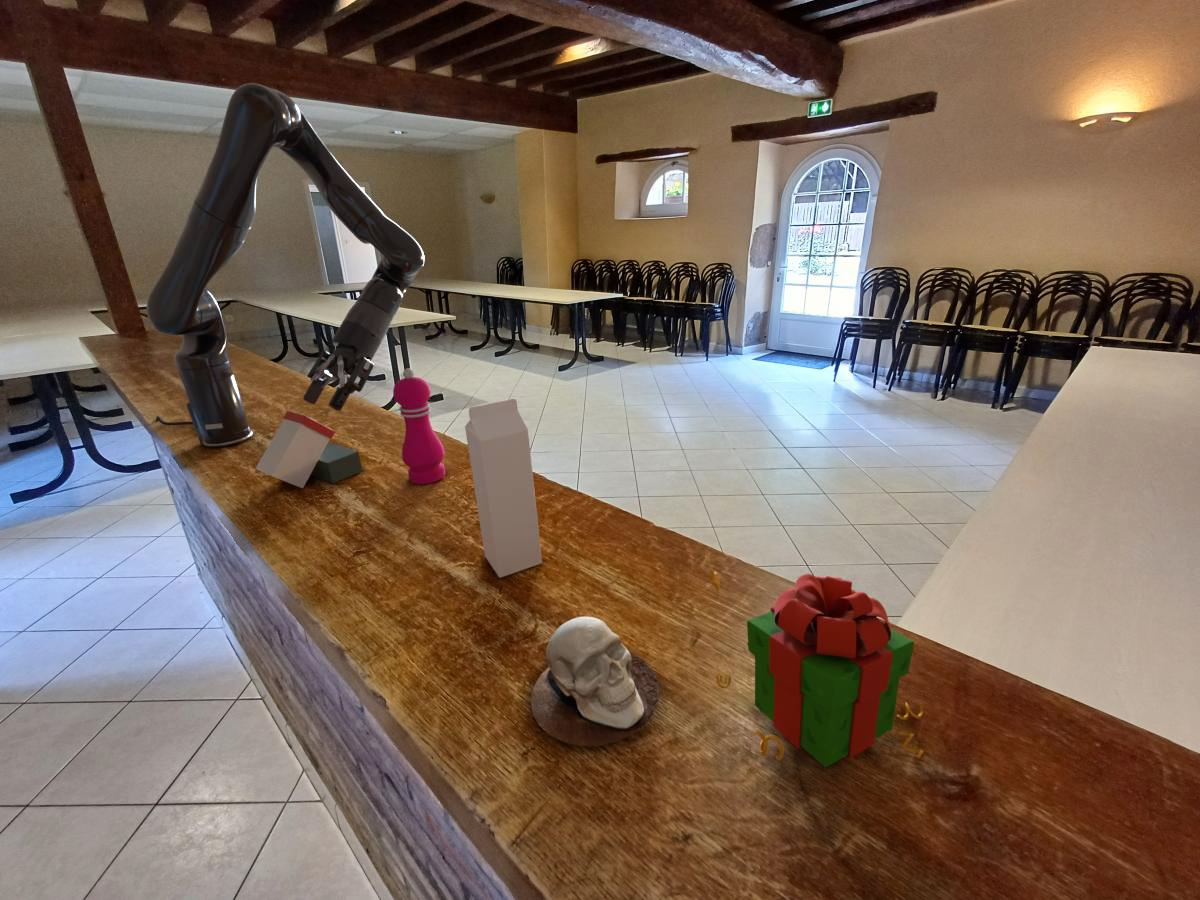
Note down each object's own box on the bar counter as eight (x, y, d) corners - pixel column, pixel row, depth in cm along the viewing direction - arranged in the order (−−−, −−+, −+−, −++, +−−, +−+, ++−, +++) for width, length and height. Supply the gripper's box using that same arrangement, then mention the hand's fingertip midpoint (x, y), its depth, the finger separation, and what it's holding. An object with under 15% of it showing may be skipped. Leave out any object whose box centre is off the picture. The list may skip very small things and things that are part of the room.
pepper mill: (453, 468, 102) (436, 362, 95) (439, 485, 96) (419, 373, 88) (416, 468, 103) (396, 363, 96) (400, 485, 97) (376, 374, 89)
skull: (695, 690, 51) (635, 662, 44) (629, 787, 49) (558, 774, 43) (617, 617, 60) (558, 585, 53) (560, 699, 59) (493, 676, 52)
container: (279, 498, 94) (258, 430, 90) (261, 490, 98) (240, 424, 93) (345, 471, 104) (329, 408, 99) (327, 464, 107) (310, 403, 102)
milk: (542, 563, 73) (527, 404, 64) (498, 579, 70) (476, 414, 61) (524, 542, 77) (508, 392, 69) (483, 556, 75) (460, 401, 66)
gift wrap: (802, 644, 59) (809, 520, 56) (987, 768, 43) (1014, 604, 39) (644, 712, 51) (639, 571, 47) (801, 898, 35) (813, 705, 31)
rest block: (333, 483, 99) (327, 463, 97) (298, 469, 105) (292, 450, 104) (362, 471, 103) (358, 451, 102) (327, 458, 110) (322, 440, 108)
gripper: (325, 317, 106) (282, 390, 101) (370, 321, 98) (325, 400, 94) (356, 339, 112) (317, 409, 107) (400, 344, 104) (359, 420, 100)
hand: (320, 405), depth 101 cm, fingers open, 8 cm apart
